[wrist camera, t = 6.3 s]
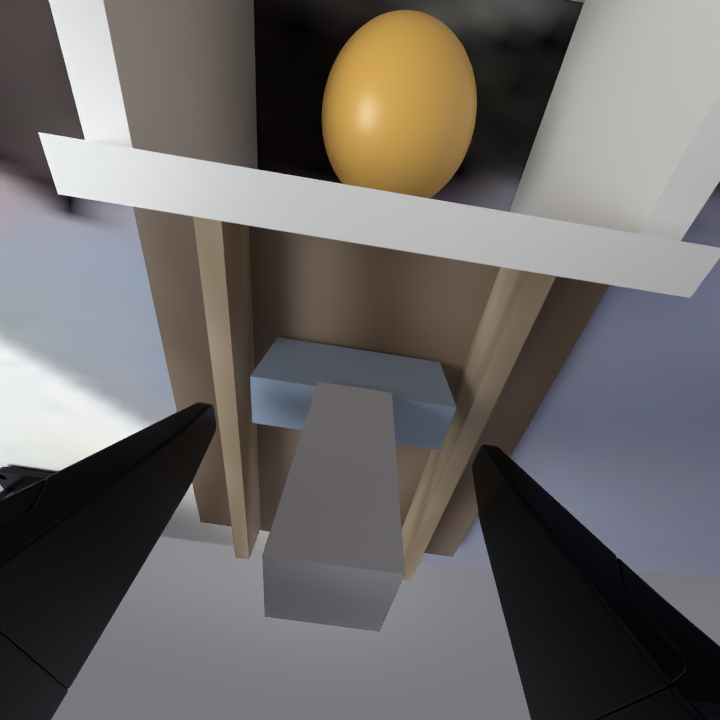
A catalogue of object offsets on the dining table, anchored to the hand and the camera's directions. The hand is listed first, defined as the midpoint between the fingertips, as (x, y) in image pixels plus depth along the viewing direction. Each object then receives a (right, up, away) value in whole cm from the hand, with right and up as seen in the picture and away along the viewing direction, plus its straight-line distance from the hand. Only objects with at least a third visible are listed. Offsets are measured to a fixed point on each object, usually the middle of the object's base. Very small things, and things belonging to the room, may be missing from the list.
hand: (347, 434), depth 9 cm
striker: (0, +2, +4) cm, 4 cm away
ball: (+1, +9, -1) cm, 9 cm away
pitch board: (0, -1, +7) cm, 7 cm away
